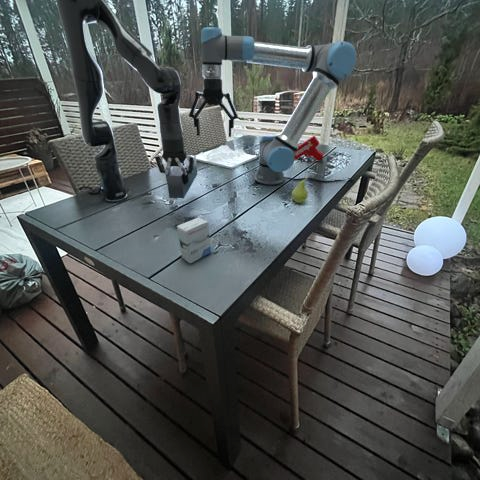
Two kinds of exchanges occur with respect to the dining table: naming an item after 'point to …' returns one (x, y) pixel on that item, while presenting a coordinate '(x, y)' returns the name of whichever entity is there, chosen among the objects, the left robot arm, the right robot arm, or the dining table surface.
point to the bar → (180, 180)
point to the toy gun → (309, 149)
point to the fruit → (300, 192)
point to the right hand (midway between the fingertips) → (214, 135)
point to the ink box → (194, 239)
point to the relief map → (225, 157)
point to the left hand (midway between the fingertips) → (178, 183)
